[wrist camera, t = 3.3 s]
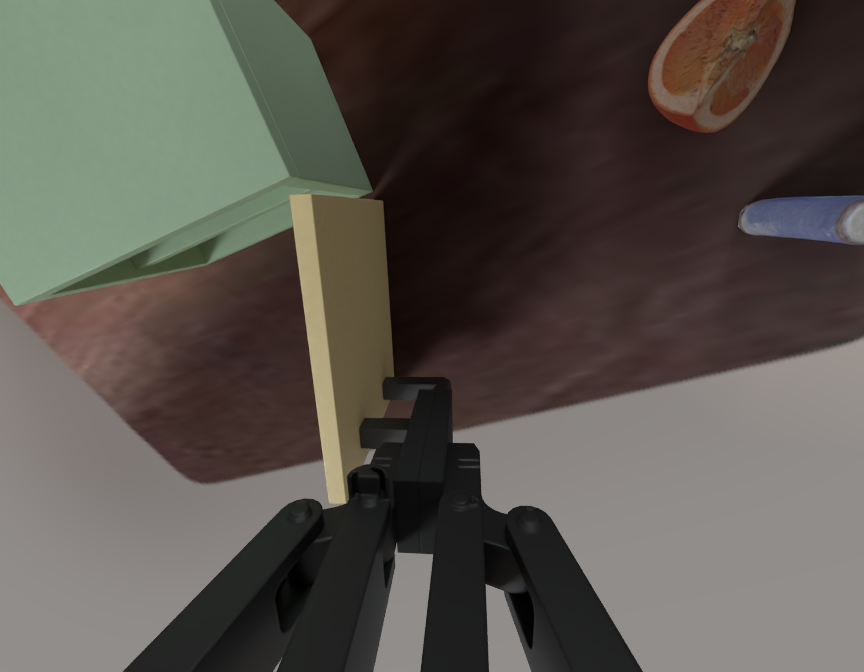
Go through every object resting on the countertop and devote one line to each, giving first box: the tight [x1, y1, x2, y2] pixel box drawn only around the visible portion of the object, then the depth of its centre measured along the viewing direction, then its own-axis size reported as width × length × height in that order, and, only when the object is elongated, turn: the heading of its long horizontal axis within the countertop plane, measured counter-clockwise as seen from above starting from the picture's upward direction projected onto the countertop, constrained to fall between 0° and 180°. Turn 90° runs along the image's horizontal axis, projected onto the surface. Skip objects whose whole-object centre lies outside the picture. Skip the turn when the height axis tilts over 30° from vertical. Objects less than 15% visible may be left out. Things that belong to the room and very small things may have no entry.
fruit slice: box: [648, 0, 796, 133], centre depth 24 cm, size 8×7×5 cm
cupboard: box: [0, 0, 373, 306], centre depth 24 cm, size 11×16×15 cm
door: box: [290, 194, 451, 504], centre depth 26 cm, size 6×16×15 cm, turn 2°
